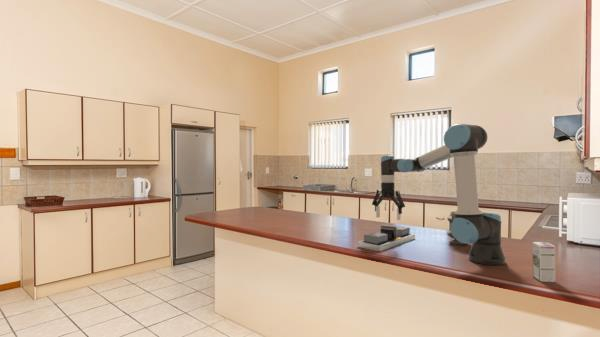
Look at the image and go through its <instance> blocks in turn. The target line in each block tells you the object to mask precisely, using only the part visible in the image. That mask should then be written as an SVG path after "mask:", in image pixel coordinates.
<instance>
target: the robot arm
mask: <svg viewBox="0 0 600 337" xmlns="http://www.w3.org/2000/svg"><path fill="white" fill-rule="evenodd" d="M443 142H444V144H443V145H441V146H439V147H437V148H435V149H433V150H430V151H428V152H426V153H424V154H422V155H420V156H418V157H416V158H404V157H403V158H395V156H394V155H382V156H381V158H380V180H381V183H380V184H381V185H380V187H381V189H376V193H375V196H374V198H373V200H372V203H371V205H372V206H374V211H375V216H376V218H380V217H381V216H380V215H381V212H380V210H381V209H380V208H381V207H380V204H381V203H382V201H383V200H384V199H391V200H392V202H393V203H394V204H395V205H396V207H397V208H396V220H397V221H399V220H401V215H402V214H403V208H406V204H405V203H404V200H403V199H402V198H403V197H402V196H401V193H400V190H395V173H420V172H424V171H426V170H427V169H428V168H430V167H432V166H435V165H437V164H440V163H441V162H444V161H447V160H450V159H452V158H453V164H454V166H453V167H454V176H455V178H454V179H455V188H456V189H455V191H456V192H455V193H456V203H457V205H456V207H457V210H456V211H454V212H455V213H454V215H455V219H454V220H453V222H451V225H450V224H449V225H450V230H451V233H452V235H453V236H454V238H456V240H458V241H459V242H461V243H466V244H467V245H469V244H472V245H471V247H470V249H469V252H468V261H469V260H470V261H471V262H473V263H476V264H479V265H480V264H482V265H487V266H502V265H505V264H506V257H505V254H504V252H503V249H502V246H501V245H502V218H501V215H500V214H498V213H492V212H483V211H481V210H480V209H479V208H480V207H479V198H478V196H479V195H478V184H477V183H478V182H477V172H476V171H477V170H476V159H475V158H476V157H475V156H476V155H477V154H478V153H479V149H481V148H483V147H485V145H486V143H487V142H488V133H487V131H486V130H485V129H484V127H482V126H480V125H476V124H475V125H473V124H467V123H457V124H453V125H451V126H450V127H448V128H447V130H446V131H445V132H444V136H443ZM380 195H381V196H380ZM454 238H453V239H454Z"/></svg>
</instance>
